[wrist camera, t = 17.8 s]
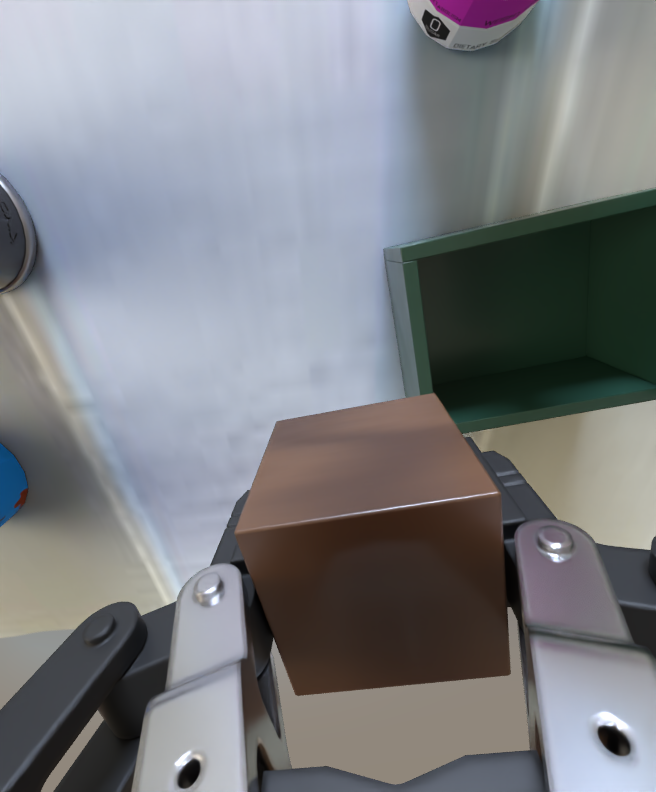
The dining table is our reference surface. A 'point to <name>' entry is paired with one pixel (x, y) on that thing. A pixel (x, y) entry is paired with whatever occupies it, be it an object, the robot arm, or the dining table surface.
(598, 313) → the tea tin
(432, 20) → the supplement can
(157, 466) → the dining table surface
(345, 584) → the walnut block
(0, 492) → the thermos
